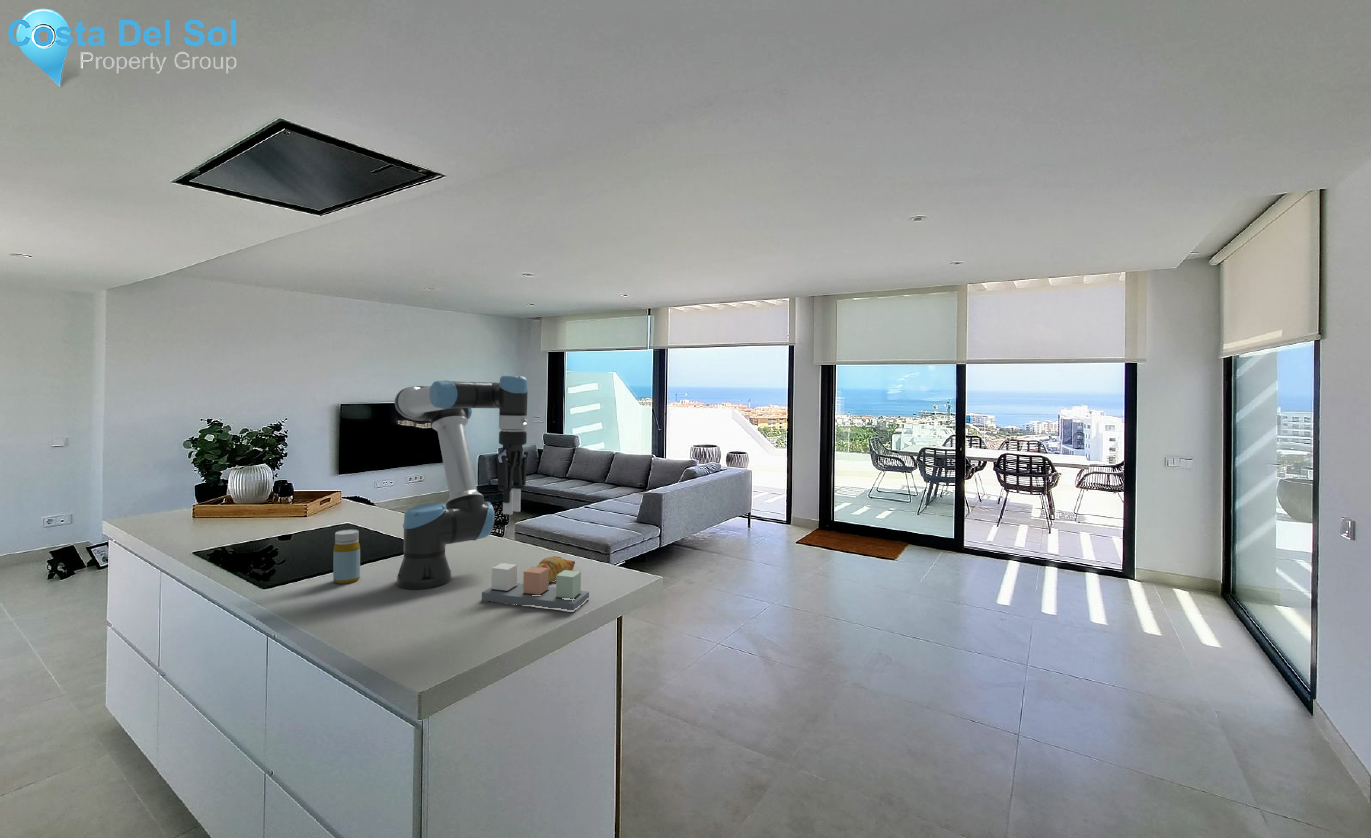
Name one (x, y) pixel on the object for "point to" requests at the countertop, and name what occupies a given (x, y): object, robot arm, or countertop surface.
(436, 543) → the robot arm
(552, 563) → the croissant
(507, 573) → the key white
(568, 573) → the key sage
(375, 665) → the countertop surface
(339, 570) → the bottle
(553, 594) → the grey slotted tray
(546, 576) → the key terracotta
